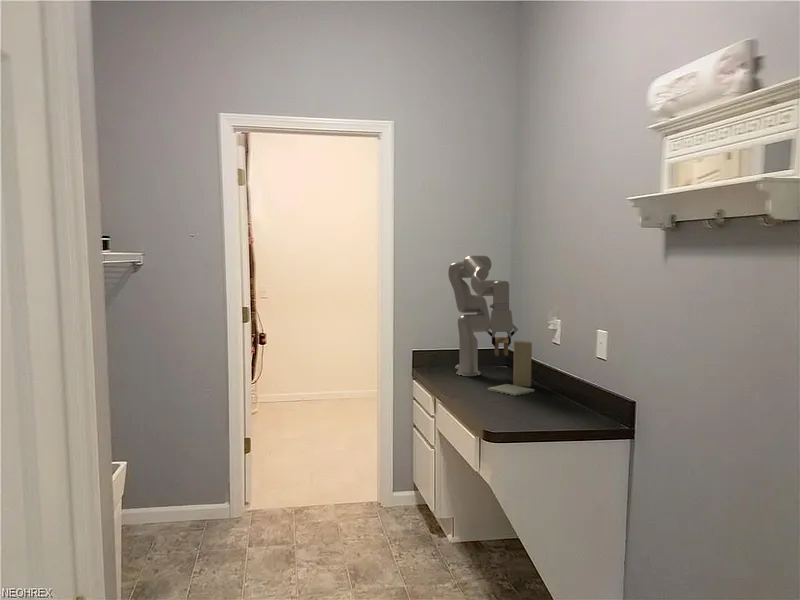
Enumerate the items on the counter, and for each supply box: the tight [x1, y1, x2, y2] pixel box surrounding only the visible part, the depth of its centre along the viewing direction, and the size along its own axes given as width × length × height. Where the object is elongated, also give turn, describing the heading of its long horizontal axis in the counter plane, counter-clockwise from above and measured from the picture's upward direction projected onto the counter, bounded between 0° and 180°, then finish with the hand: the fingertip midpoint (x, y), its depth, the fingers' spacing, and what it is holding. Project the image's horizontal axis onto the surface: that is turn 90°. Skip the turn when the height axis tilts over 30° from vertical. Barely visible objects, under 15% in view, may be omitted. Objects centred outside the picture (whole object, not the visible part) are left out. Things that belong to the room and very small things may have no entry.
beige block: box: [512, 340, 533, 388], centre depth 279 cm, size 8×7×21 cm
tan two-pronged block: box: [493, 336, 509, 357], centre depth 273 cm, size 6×6×8 cm
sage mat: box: [487, 383, 535, 397], centre depth 267 cm, size 16×14×1 cm
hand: (501, 345), depth 273 cm, fingers closed on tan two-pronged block, 6 cm apart
